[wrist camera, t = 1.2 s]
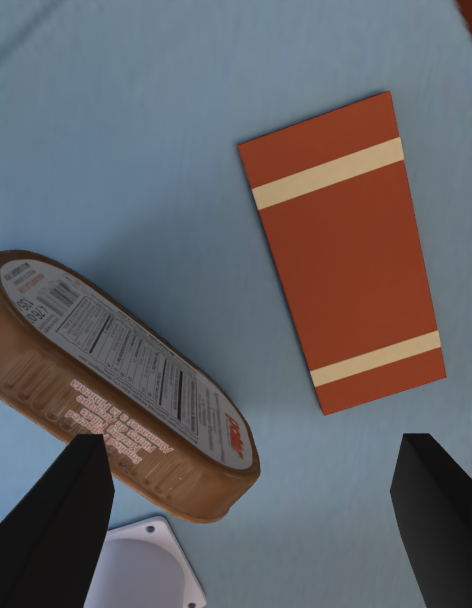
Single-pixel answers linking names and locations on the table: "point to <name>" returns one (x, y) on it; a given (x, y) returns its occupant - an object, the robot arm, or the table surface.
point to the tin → (119, 390)
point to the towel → (348, 251)
